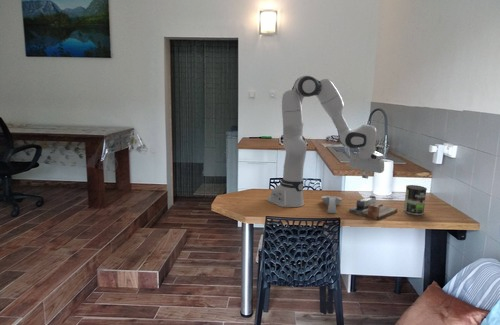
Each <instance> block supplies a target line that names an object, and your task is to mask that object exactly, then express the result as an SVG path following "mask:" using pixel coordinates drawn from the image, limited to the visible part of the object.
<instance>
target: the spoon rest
mask: <svg viewBox="0 0 500 325" xmlns="http://www.w3.org/2000/svg"><path fill="white" fill-rule="evenodd" d="M321 201H323V203H324V204H325V205H326V206H327V213H328V214H337V205H340V203H341V202H342V201H343V198H342V197H339V196H335V195H334V196H332V195H323V196H321Z"/></svg>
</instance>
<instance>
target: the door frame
mask: <svg viewBox="0 0 500 325" xmlns="http://www.w3.org/2000/svg"><path fill="white" fill-rule="evenodd" d="M348 212H349V213H353V214H355V215H360V216H363V217H366V218H370V219H373V220H378V221H379V220H381V219H382V220H383V219H384V218H386V217H389V216H391V215H393V214H395V213H397V212H398V208H394V207H391V206H386V205H384V204H383V203H379V204H378V203H373V204H370V205H368V206H365V207H364V208H359V207H356V206H354V207H351V208H349V209H348ZM392 213H393V214H392ZM390 214H391V215H390ZM388 215H389V216H388Z"/></svg>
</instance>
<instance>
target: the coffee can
mask: <svg viewBox="0 0 500 325" xmlns="http://www.w3.org/2000/svg"><path fill="white" fill-rule="evenodd" d="M405 188H406V189H405V198H404V206H403V212H404V213H405V214H409V215H413V216H421V215H424V212H425V211H424V210H425V202H426V195H427V187H424V186H421V185H416V184H408V185H406V186H405Z"/></svg>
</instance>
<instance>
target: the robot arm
mask: <svg viewBox="0 0 500 325" xmlns="http://www.w3.org/2000/svg"><path fill="white" fill-rule="evenodd" d="M314 96H315V97H316V98H317V99H318V101H319V102H320V104H321V106H322V108H323V109H324V111H325V112H326V113H327V114H328V116H329V117H330V118H331V121H332V122H333V124H334V127H335V128H336V131H337V134H338V141H339V143H340V144H341V145H342V146H345V147H347V148H349V149H359V150H358V152H355V151H352V152H351V153H350V155H349V162H348V168H350V169H355V170H360V174H361V178H362V179H367V180H368V178H369V175H370V174H371V172H372V173H377V174H382V173H383V172H384V171H385V160H384V157H385V155H384V154H382V153H380V152H378V151H376V143H377V128H376V127H375V126H372V125H368V124H362V125H361V126H359V127H358V128H355V129H352V128H351V127H349V126H348V123H347V121H346V119H345V117H344V115H343V109H344V101H343V98H342V96H341V93H340V92H339V91H338V89H337V87H336V86H335V85H334V83H333V82H332V80H330V79H329V78H323V79H320V80H319V79H317V78H315V77H313V76H310V75H303V76H299V77H298V78H297V79H296V80H295V82H294V84H293V86H292V88H291V89H288V90H287V91H284V93H283V94H282V97H281V98H282V100H281V112H282V113H281V114H282V128H283V129H282V143H283V144H282V145H283V149H284V150H285V157H284V162H283V174H282V176H283V177H282V178H281V179H279V182H280V184H279V185H277V186H276V187H274V188H273V189H272V190H271V193H270V196H268V197H266V201H267V202H270V203H272V204H274V205H276V206H279V207H283V208H285V207H287V208H288V207H289V208H299V207H302V206H303V207H304V205H305V201H304V195H303V188H304V166H305V161H306V157H307V156H306V155H307V147H308V145H307V143H306V140H304V139H303V134H304V133H303V132H304V131H303V129H304V115H303V100H304V98H308V97H309V98H311V97H314ZM365 172H366V174H365Z"/></svg>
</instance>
